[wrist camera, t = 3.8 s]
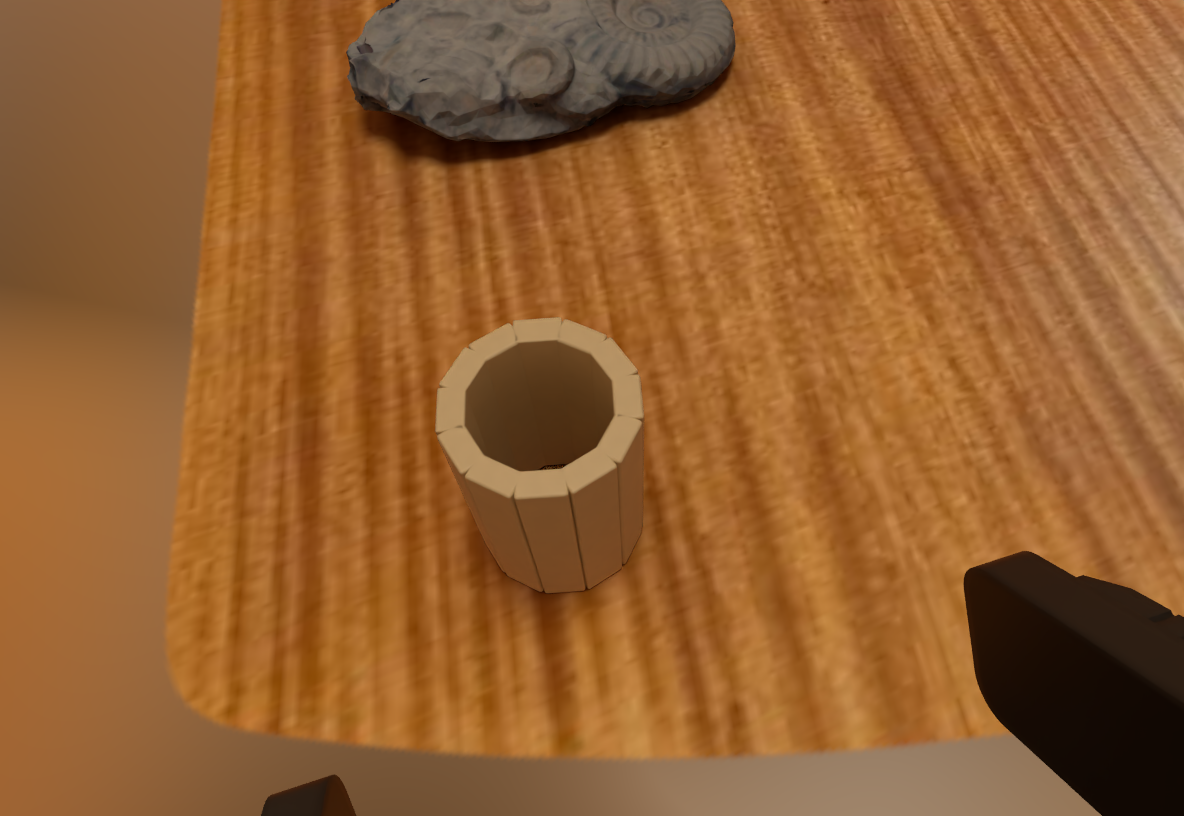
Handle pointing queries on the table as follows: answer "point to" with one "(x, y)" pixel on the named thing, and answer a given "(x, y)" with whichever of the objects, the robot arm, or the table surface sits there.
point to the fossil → (534, 61)
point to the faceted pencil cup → (547, 450)
